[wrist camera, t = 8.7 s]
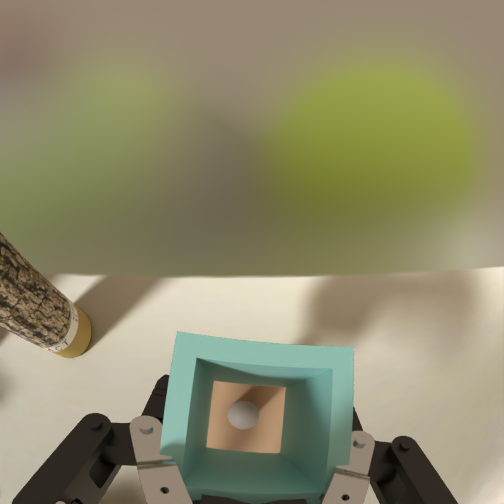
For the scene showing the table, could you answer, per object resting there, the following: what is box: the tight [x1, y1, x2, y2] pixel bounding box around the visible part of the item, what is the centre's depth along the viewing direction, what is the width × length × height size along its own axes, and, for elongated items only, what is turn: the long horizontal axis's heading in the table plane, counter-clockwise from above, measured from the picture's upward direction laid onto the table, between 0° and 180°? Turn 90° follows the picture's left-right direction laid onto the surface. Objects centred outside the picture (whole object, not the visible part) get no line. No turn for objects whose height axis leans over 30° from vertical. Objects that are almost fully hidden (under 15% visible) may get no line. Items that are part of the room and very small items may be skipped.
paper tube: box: [0, 232, 91, 358], centre depth 18 cm, size 7×7×25 cm
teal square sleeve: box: [160, 331, 354, 504], centre depth 11 cm, size 6×6×9 cm
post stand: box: [206, 381, 286, 453], centre depth 22 cm, size 10×10×8 cm
